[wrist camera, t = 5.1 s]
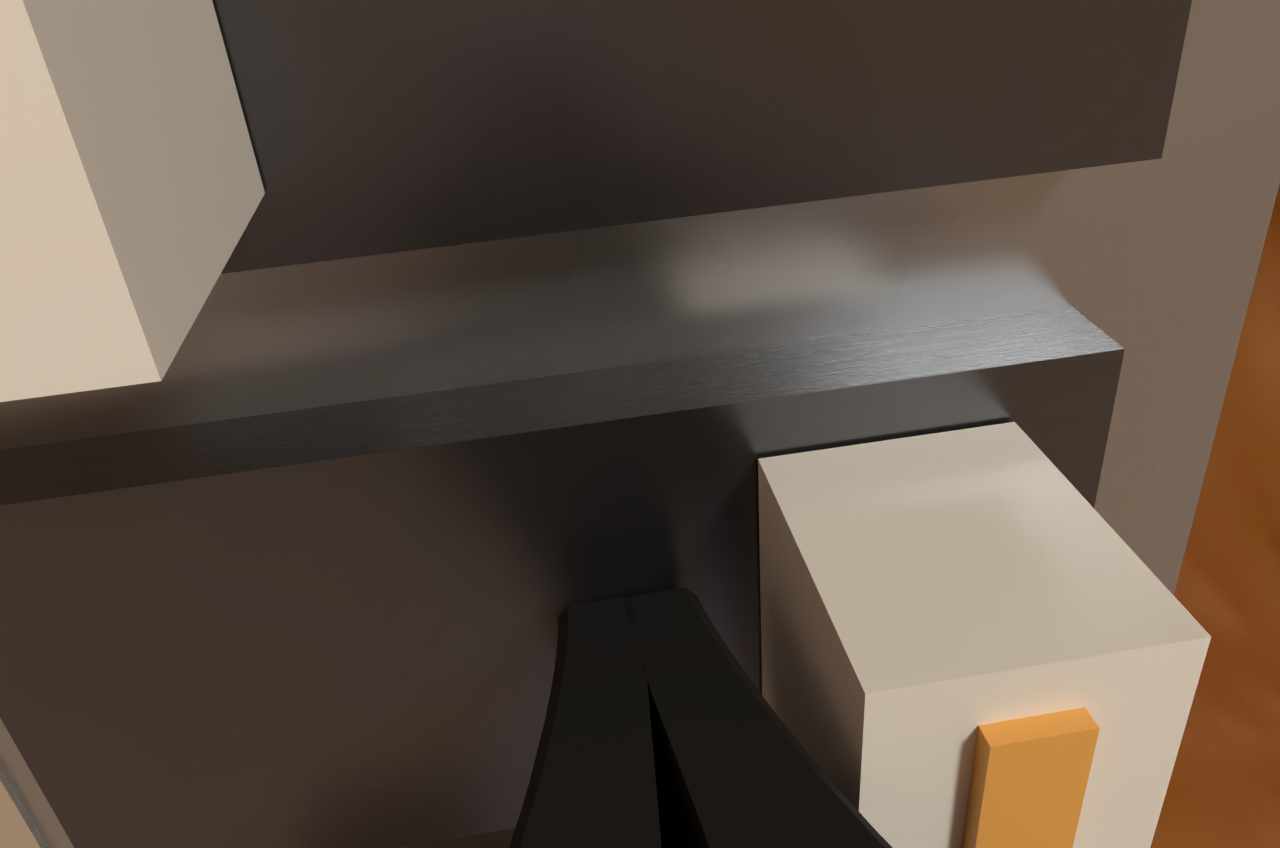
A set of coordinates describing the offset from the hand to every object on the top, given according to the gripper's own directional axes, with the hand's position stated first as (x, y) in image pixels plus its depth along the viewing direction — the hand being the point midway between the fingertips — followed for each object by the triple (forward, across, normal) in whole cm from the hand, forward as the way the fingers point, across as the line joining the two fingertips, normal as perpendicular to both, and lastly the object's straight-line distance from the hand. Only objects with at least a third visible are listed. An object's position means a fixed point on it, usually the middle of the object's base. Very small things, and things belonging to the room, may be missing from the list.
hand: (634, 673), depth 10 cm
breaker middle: (0, -3, 0) cm, 3 cm away
